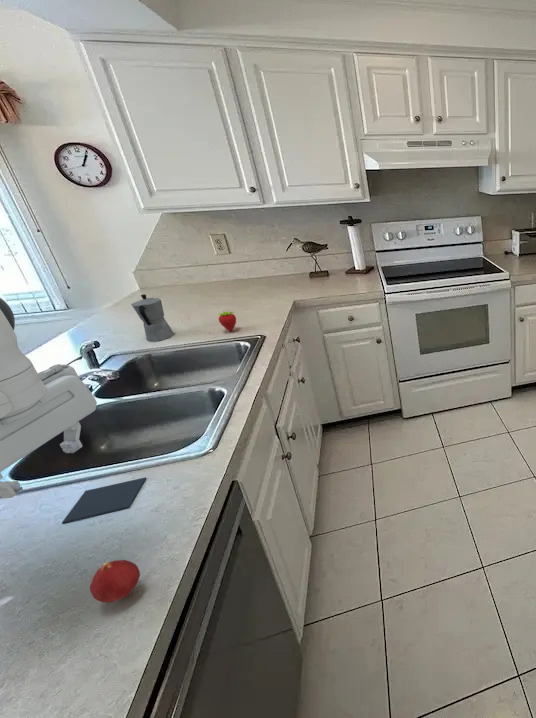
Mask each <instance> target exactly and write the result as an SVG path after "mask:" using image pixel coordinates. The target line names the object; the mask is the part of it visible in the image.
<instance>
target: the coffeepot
mask: <svg viewBox="0 0 536 718" xmlns="http://www.w3.org/2000/svg"><path fill="white" fill-rule="evenodd" d="M140 297H141V299H139V300H137V301H134V302H133V303H131V304H130V305H131V307H132V308H133V309H134V311H135V313H136V314H137V316H138V317H139V319H140V320H141V321H142V323H143V329H144V334H145V339H146V341H148V342H149V343H150V342H151V343H154V342H161V341H165V340H167V339H170V338H172V337H173V336H175V332H174V331H173V330H172V328H171V326H170V324H169V323H168V322H167V320H166V319H165V317H164V316H165V312H164V307H163V303H162V299H161V298H159V297H147V294H145V293H143V294H141V295H140Z"/></svg>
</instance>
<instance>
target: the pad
mask: <svg viewBox="0 0 536 718" xmlns="http://www.w3.org/2000/svg"><path fill="white" fill-rule="evenodd" d="M147 478H148V477H146V476H145V477H140V478H137V479H131V480H127V481H122V482H118V483H114V484H110V485H103V486H100V487H97V488H92V489H87V490H85V491H84V492H83V494H82V495H81V496H80V497H79V499H78V500H77V501H76V503H75V504H74V505H73V507H72V508H71V510H70V511H69V512H68V513H67V515H66V516H65V517H64V519H63V520H62V522H61V524H62V525H65V524H68V523H72V522H77V521H81V520H84V519H85V520H86V519H89V518H93V517H98V516H103V515H107V514H110V513H114V512H119V511H122V510H126V509H130V508H131V506H132V505H133V503H134V501H135V499H136V498H137V496H138V494H139V492H140V491H141V489H142V488H143V486H142V485H144V484H145V482H146V480H147Z"/></svg>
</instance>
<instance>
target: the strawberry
mask: <svg viewBox="0 0 536 718" xmlns="http://www.w3.org/2000/svg"><path fill="white" fill-rule="evenodd" d="M218 322H219V323H220V325H221V326H222V328H224V329H226V330H227V331H228V332H230V333H231V332H233V331H234V328H235V326H236V324H237V317H236V315H235V314H234V311H222V312H221V313H219V317H218Z"/></svg>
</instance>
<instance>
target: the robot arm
mask: <svg viewBox="0 0 536 718" xmlns="http://www.w3.org/2000/svg"><path fill="white" fill-rule="evenodd" d="M15 325H16V320H15V314H14V312H13V310H12V308H11V307H10V305H9V304H8V303H7V302H6V301H5V300H4V299H3V298H1V297H0V498H1V499H11V498H13V497H14V496H16V495H18V494H19V493H20V492H22V491H23V487H22V486H21V484H20V482H19V481H18V480H11V481H10V480H5V481H1V480H2V479H4V476H3V474H2V473H1V472H3V471H4V470H6V469H8V468H9V467H11V466H12V465H13V464H15V463H17V462H18V461H20V460H22V459H23V458H24V457H26V456H27V455H29V454H30V453H32V452H34V451H35V450H37V449H38V448H40V447H41V446H43V445H44V444H46V443H47V442H49V441H50V440H52V439H53V438H56V437H57V436H58V435H60V434H61V433H63V441H62V442H61V443H59V446H60V448H61V449H62V451H63V453H65V454H74V453H77V451H78V450H80V449H81V448H83V443H82V442H81V440H80V435H81V430H82V425H81V423H80V421H81V420H83V419H85V418H86V417H88V416H89V415H91V414H92V413H93V412H95V411H96V409H97V405H98V402H97V400H96V398H95V397H94V395H93V394H92V392H91V390H90V389H89V388H88V386H87V385H86V383H84V381H83V380H82V379H81V378H80V377H79V374H78V373H77V371H76V369H75V368H74V367H73V366H70V365H68V364H61V363H59V364H58V363H57V364H54V365H52V366H50V367H49V368H47V369H45V370H42V371H39V372H38V371H37V369H36V367H35V366H34V364H33V362H32V361H31V360H30V358H29V357H28V356H26V354H24V353H23V352H22V350H21V349H20V348H19V345H18V338H17V335H16V332H15Z"/></svg>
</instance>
